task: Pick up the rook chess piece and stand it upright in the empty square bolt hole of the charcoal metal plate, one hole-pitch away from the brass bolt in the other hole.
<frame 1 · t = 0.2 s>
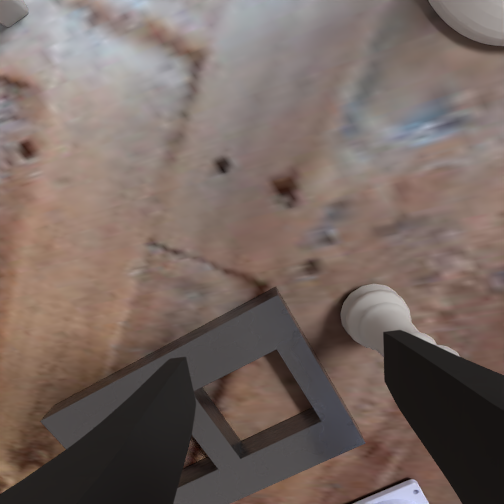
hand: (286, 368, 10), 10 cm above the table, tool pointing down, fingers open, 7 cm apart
rook chess piece: (367, 309, 20), on the table
bolt plate: (208, 416, 22), on the table
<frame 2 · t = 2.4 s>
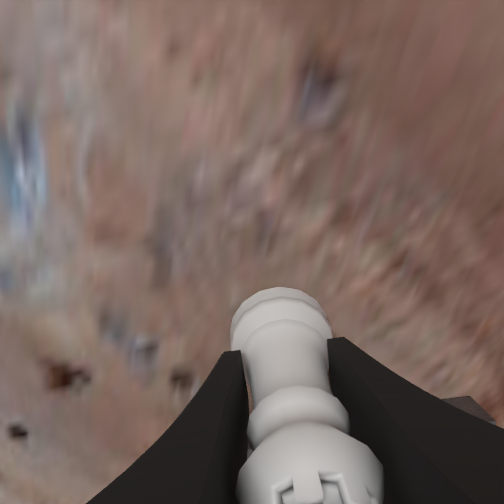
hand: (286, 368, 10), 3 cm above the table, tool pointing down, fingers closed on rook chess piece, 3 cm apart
rook chess piece: (278, 326, 13), on the table, touching gripper
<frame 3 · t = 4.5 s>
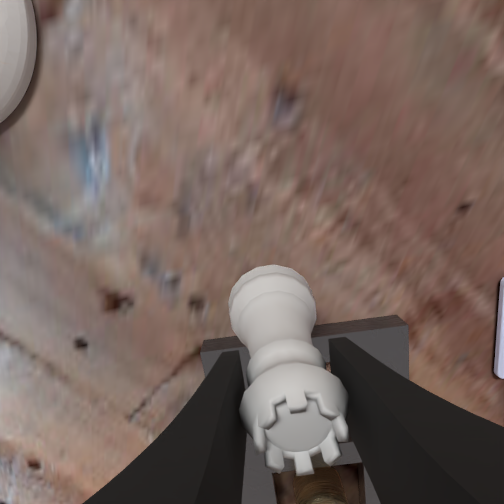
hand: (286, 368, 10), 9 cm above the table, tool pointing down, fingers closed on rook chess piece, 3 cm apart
rook chess piece: (269, 298, 15), point 4 cm above the table, touching gripper
bolt plate: (311, 439, 22), on the table
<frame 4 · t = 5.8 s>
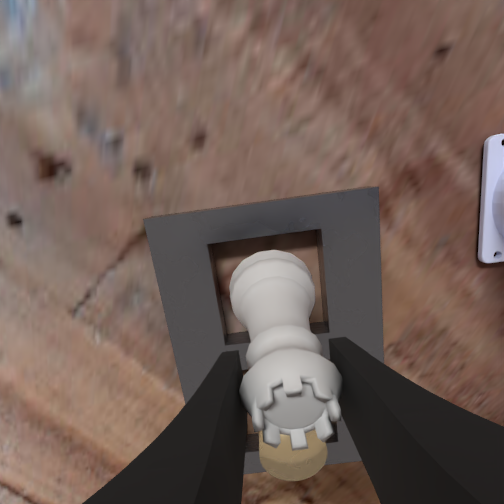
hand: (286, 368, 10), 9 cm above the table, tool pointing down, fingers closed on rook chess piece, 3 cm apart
rook chess piece: (270, 282, 15), point 3 cm above the table, touching gripper
bolt plate: (276, 340, 20), on the table
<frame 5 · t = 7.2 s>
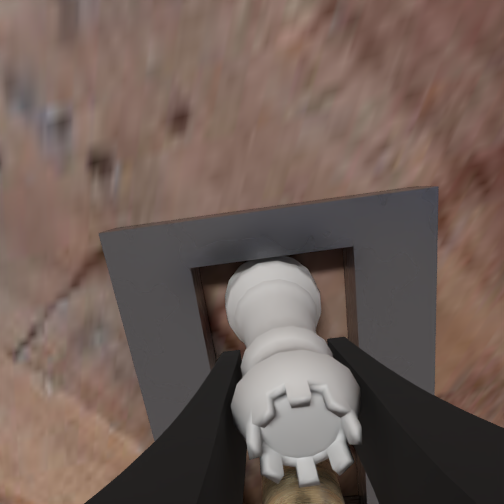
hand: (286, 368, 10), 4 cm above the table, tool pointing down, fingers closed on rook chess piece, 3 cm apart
rook chess piece: (270, 293, 14), resting in bolt plate, touching gripper
bolt plate: (286, 391, 15), on the table
when the fingers open (3 cm above the table, at t = 8.3 s): rook chess piece stays where it is, resting in bolt plate.
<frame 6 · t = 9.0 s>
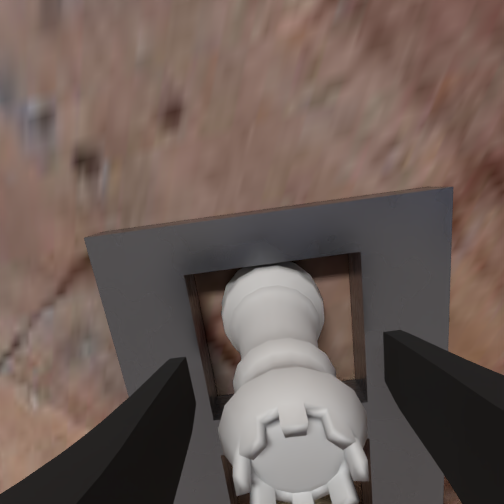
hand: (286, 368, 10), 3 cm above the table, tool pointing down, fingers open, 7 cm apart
rook chess piece: (270, 300, 13), resting in bolt plate
bolt plate: (288, 404, 14), on the table
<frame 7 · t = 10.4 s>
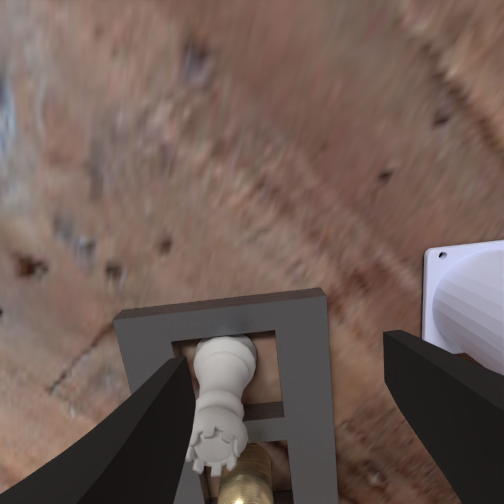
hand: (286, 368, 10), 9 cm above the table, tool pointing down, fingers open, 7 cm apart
rook chess piece: (226, 351, 21), resting in bolt plate
bolt plate: (239, 416, 22), on the table
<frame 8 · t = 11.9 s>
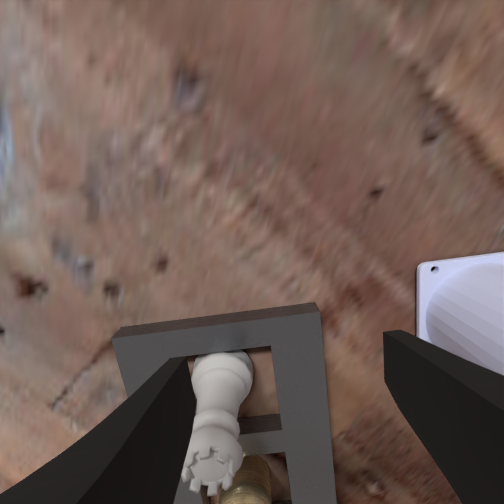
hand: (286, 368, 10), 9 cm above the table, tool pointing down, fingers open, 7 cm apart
rook chess piece: (224, 365, 21), resting in bolt plate
bolt plate: (237, 429, 22), on the table
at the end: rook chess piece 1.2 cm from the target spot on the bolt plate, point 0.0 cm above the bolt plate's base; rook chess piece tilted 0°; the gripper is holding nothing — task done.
